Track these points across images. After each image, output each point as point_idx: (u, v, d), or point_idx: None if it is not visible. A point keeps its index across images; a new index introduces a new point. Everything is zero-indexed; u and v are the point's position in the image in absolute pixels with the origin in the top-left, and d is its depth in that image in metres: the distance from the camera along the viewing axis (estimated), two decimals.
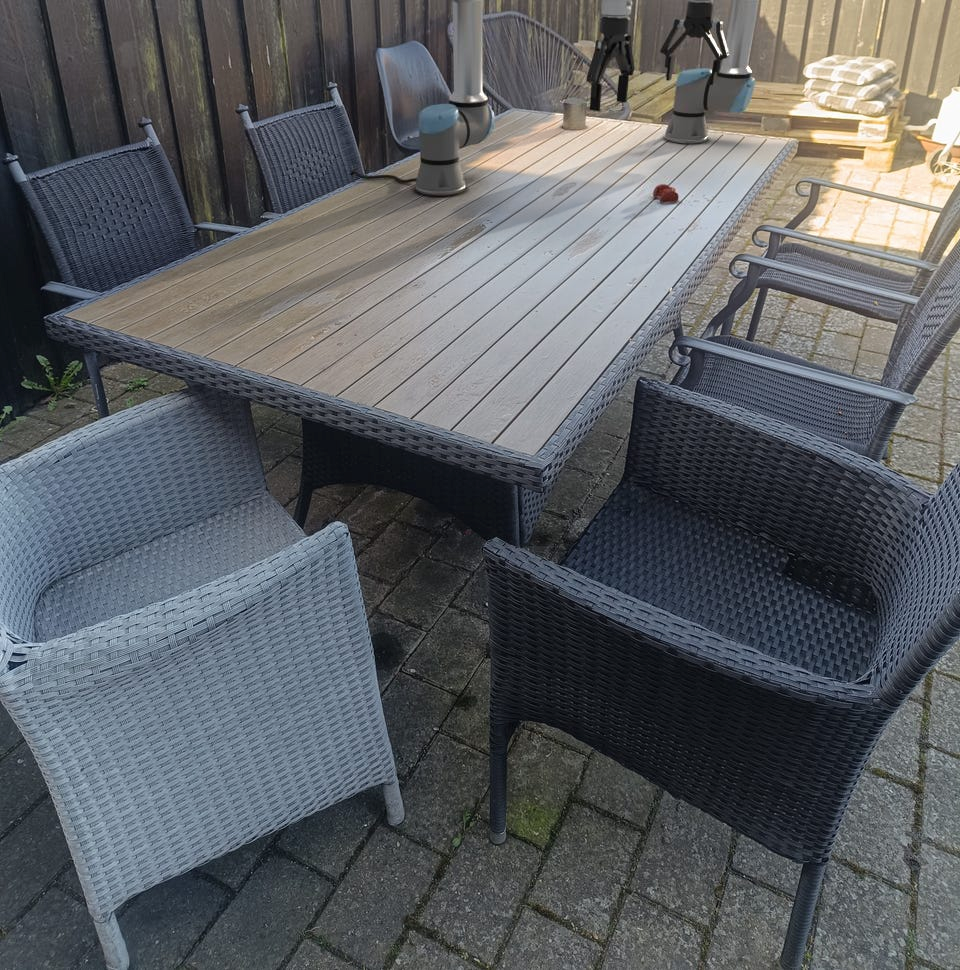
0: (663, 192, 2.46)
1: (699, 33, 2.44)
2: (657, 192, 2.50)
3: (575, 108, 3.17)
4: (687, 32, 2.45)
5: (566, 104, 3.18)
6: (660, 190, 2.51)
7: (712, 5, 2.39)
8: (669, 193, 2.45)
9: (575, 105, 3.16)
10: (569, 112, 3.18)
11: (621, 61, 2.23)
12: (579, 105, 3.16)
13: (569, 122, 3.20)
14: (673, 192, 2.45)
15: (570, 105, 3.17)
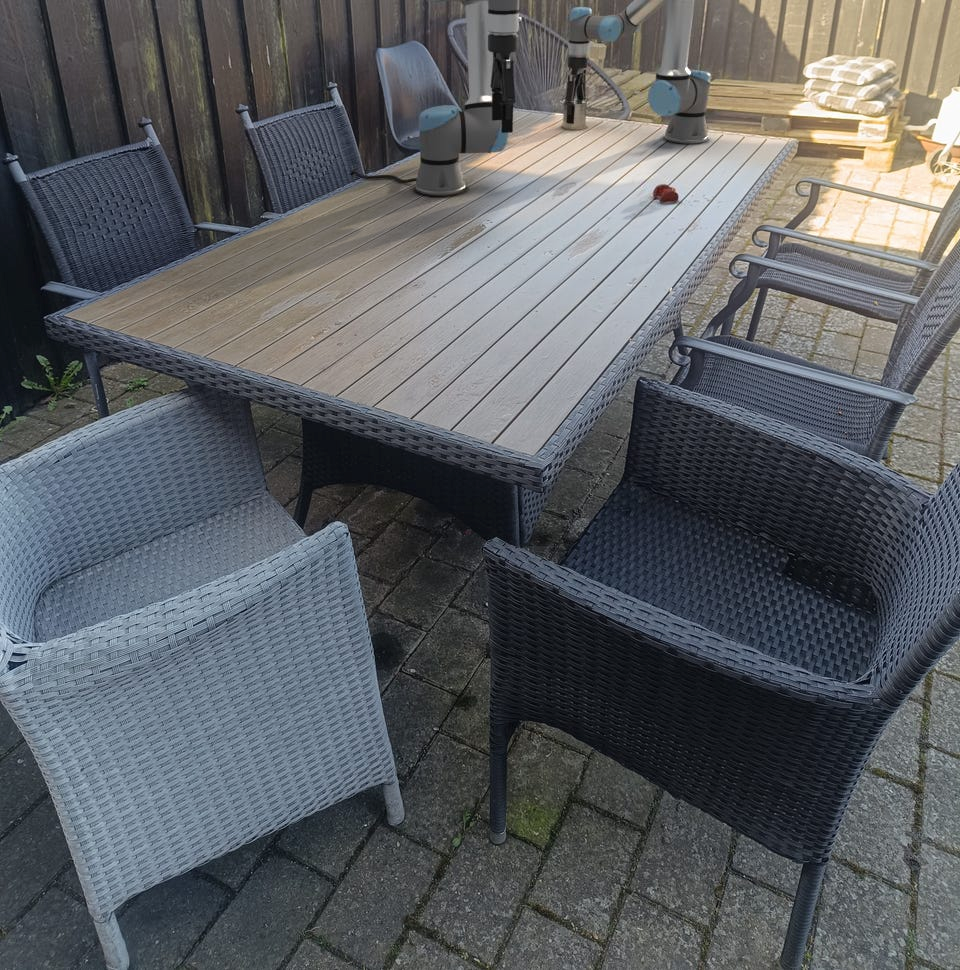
0: (663, 192, 2.46)
1: None
2: (657, 192, 2.50)
3: (575, 108, 3.17)
4: None
5: None
6: (660, 190, 2.51)
7: (572, 59, 3.08)
8: (669, 193, 2.45)
9: (575, 105, 3.16)
10: None
11: (500, 79, 2.14)
12: (579, 105, 3.16)
13: None
14: (673, 192, 2.45)
15: None
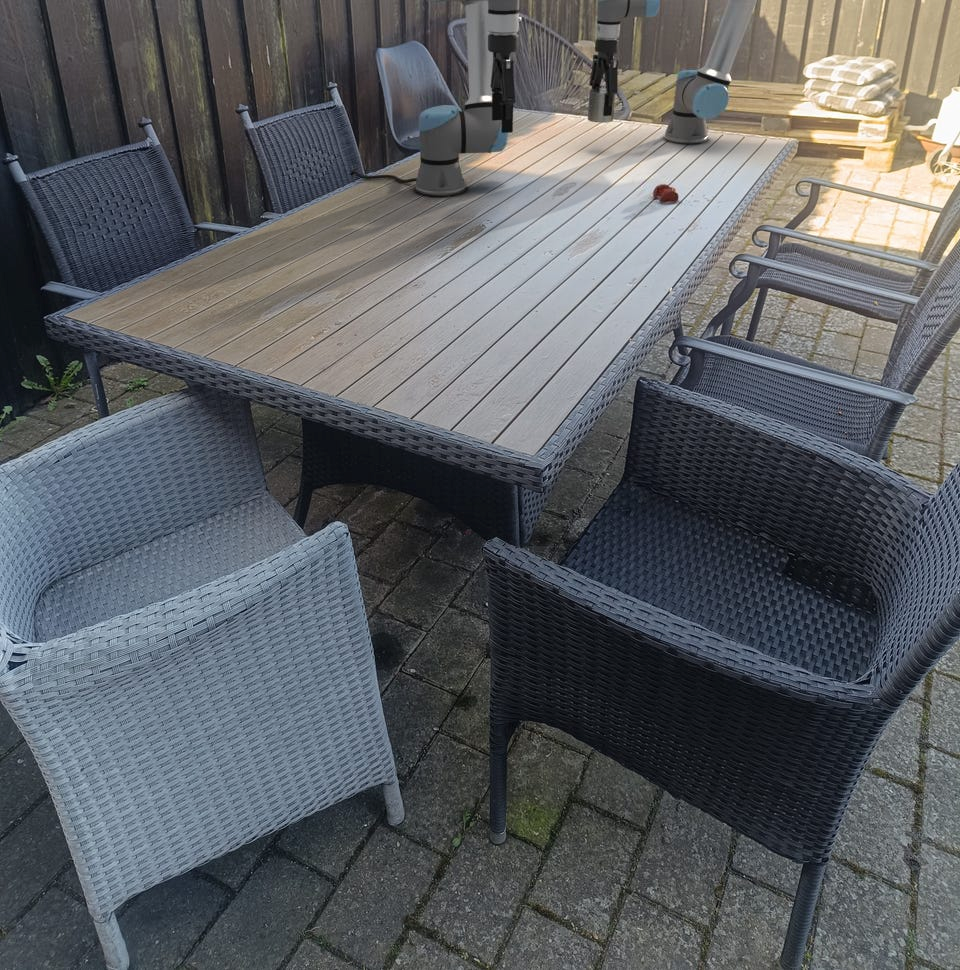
0: (663, 192, 2.46)
1: None
2: (657, 192, 2.50)
3: None
4: (597, 65, 2.80)
5: (601, 95, 2.80)
6: (660, 190, 2.51)
7: (609, 43, 2.71)
8: (669, 193, 2.45)
9: None
10: None
11: (500, 79, 2.14)
12: None
13: None
14: (673, 192, 2.45)
15: None
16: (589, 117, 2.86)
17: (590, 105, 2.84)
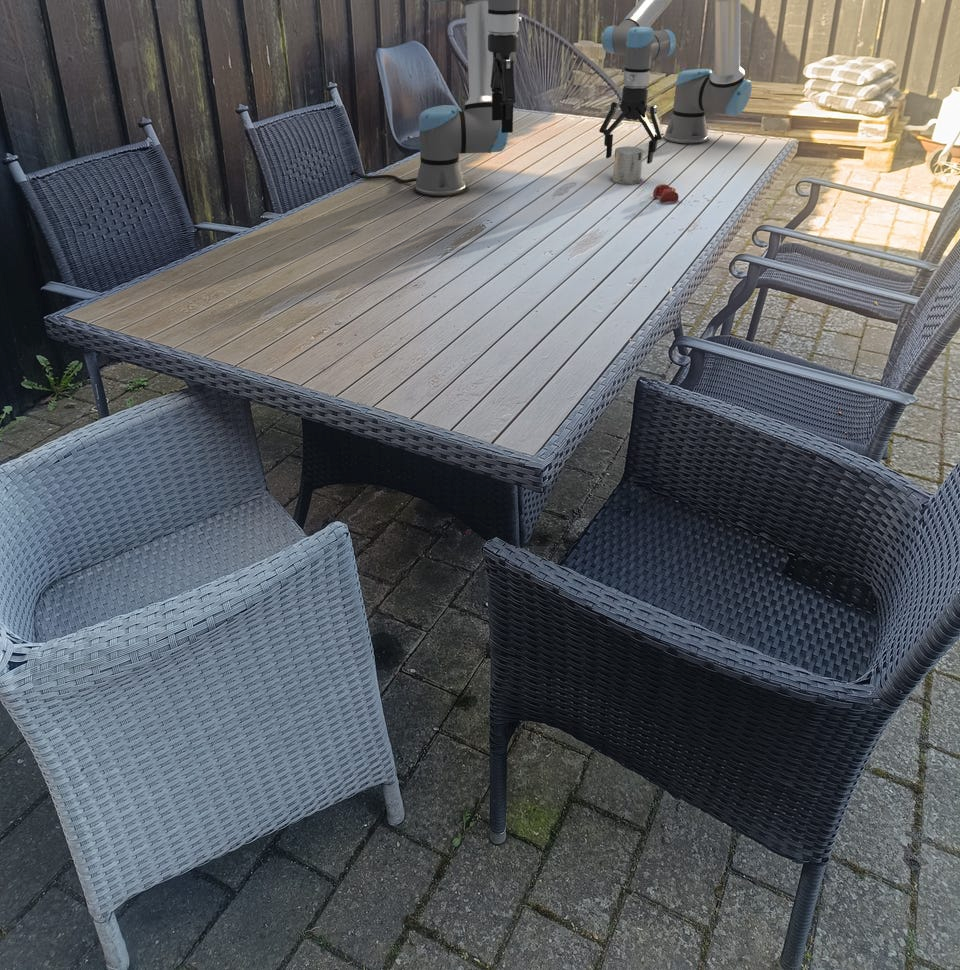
0: (663, 192, 2.46)
1: (635, 116, 2.54)
2: (657, 192, 2.50)
3: (642, 156, 2.62)
4: (623, 114, 2.55)
5: (637, 155, 2.59)
6: (660, 190, 2.51)
7: (645, 91, 2.49)
8: (669, 193, 2.45)
9: None
10: (640, 163, 2.61)
11: (500, 79, 2.14)
12: None
13: (639, 174, 2.63)
14: (673, 192, 2.45)
15: (641, 154, 2.60)
16: (622, 180, 2.63)
17: (623, 167, 2.61)
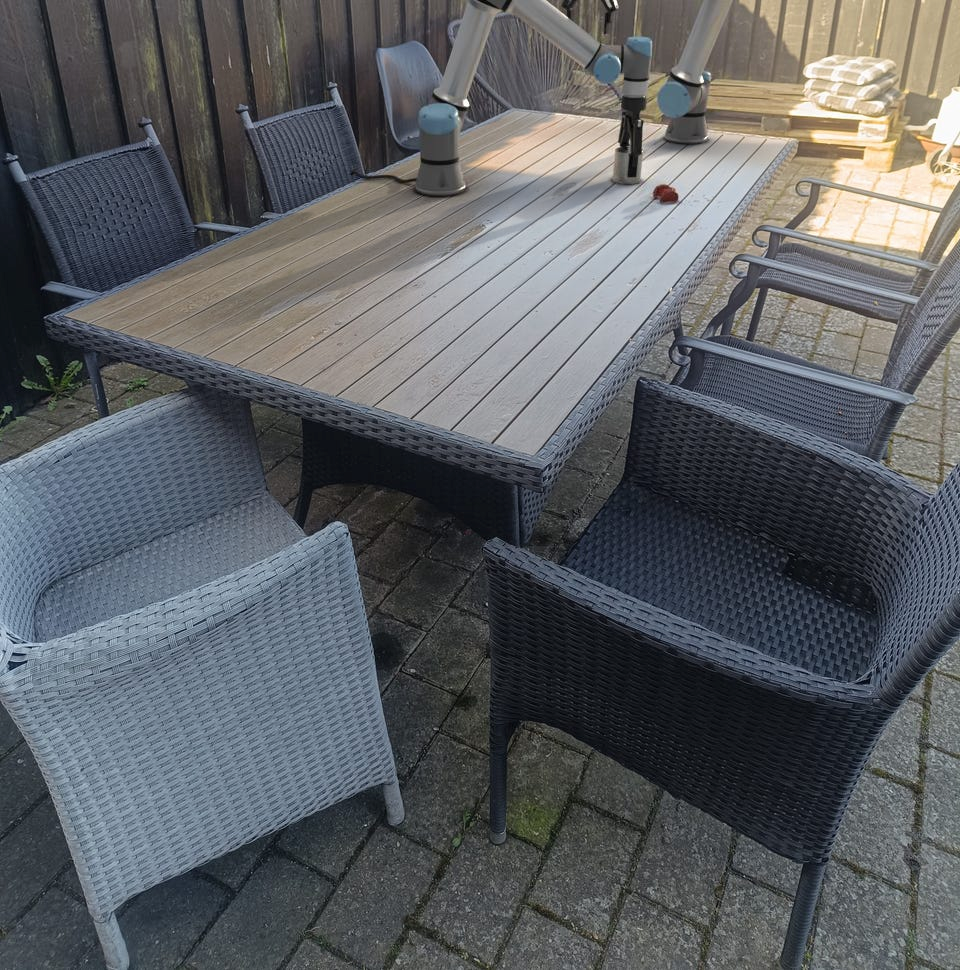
0: (663, 192, 2.46)
1: None
2: (657, 192, 2.50)
3: (642, 156, 2.62)
4: None
5: None
6: (660, 190, 2.51)
7: None
8: (669, 193, 2.45)
9: None
10: (640, 163, 2.61)
11: (628, 133, 2.62)
12: None
13: (639, 174, 2.63)
14: (673, 192, 2.45)
15: (641, 154, 2.60)
16: (622, 180, 2.63)
17: (623, 167, 2.61)
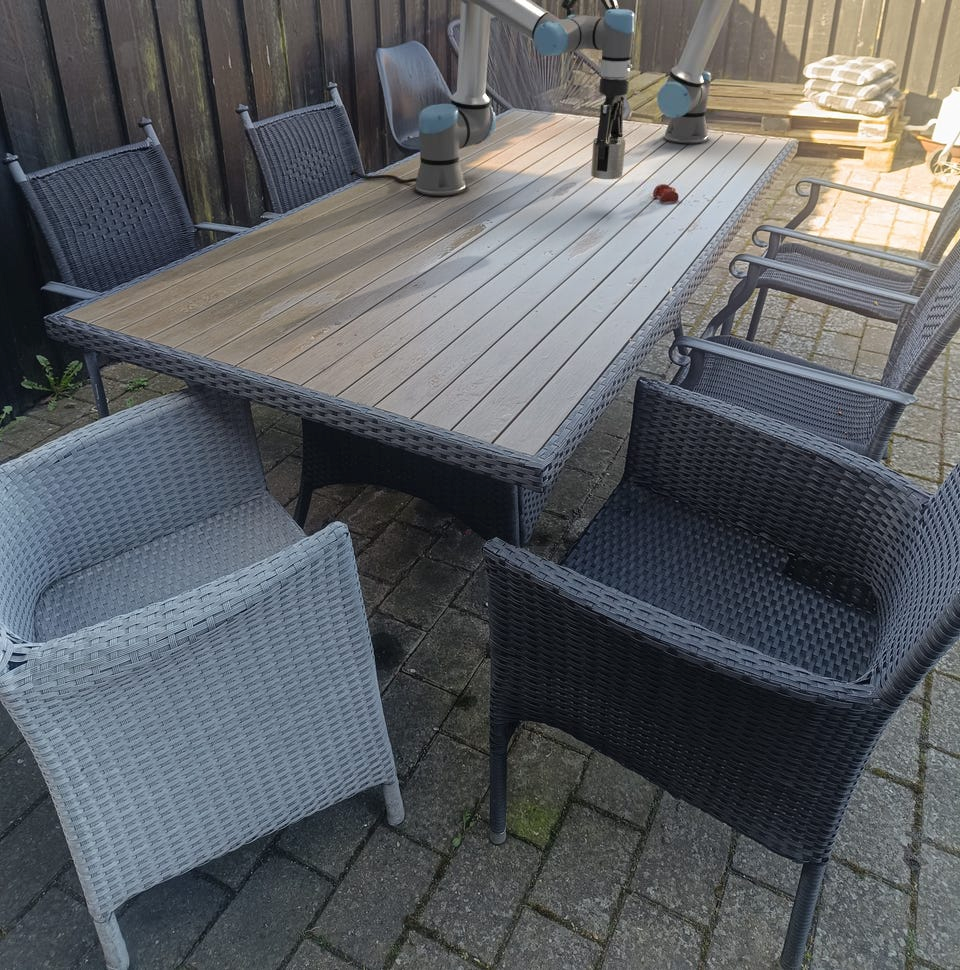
0: (663, 192, 2.46)
1: None
2: (657, 192, 2.50)
3: (622, 149, 2.28)
4: None
5: (610, 146, 2.26)
6: (660, 190, 2.51)
7: None
8: (669, 193, 2.45)
9: (622, 145, 2.27)
10: (614, 156, 2.28)
11: (615, 122, 2.29)
12: (624, 144, 2.28)
13: (614, 170, 2.30)
14: (673, 192, 2.45)
15: (617, 146, 2.26)
16: (594, 173, 2.32)
17: (595, 158, 2.30)
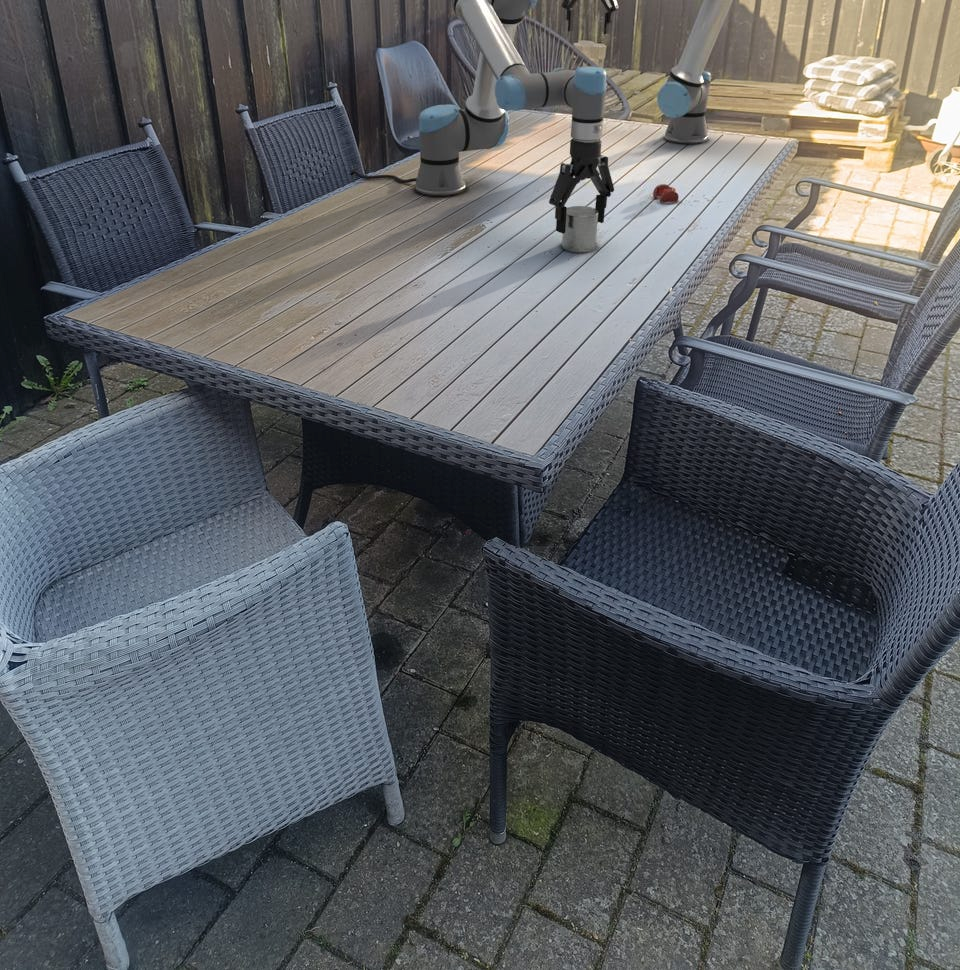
0: (663, 192, 2.46)
1: None
2: (657, 192, 2.50)
3: (587, 223, 2.11)
4: None
5: (573, 218, 2.10)
6: (660, 190, 2.51)
7: None
8: (669, 193, 2.45)
9: (588, 218, 2.10)
10: (578, 229, 2.11)
11: (596, 183, 2.11)
12: (593, 217, 2.11)
13: (578, 243, 2.13)
14: (673, 192, 2.45)
15: (580, 219, 2.10)
16: (562, 242, 2.18)
17: None
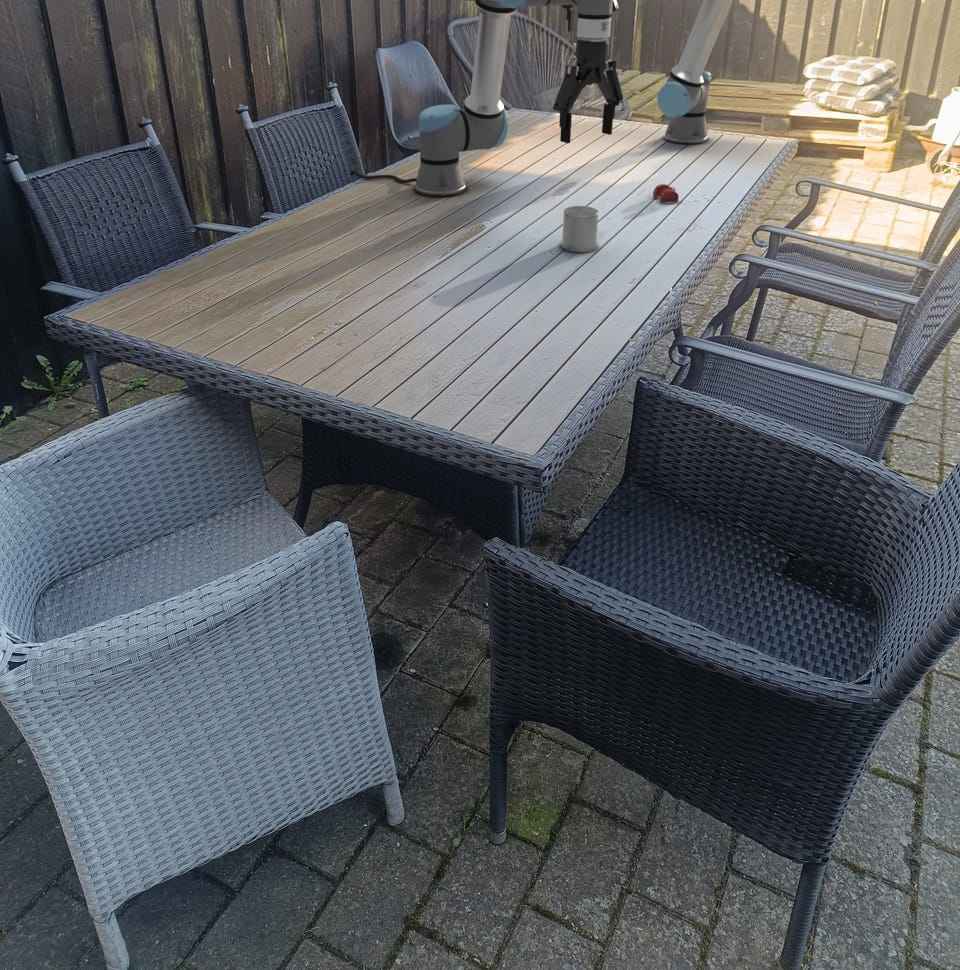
0: (663, 192, 2.46)
1: None
2: (657, 192, 2.50)
3: (587, 223, 2.11)
4: None
5: (573, 218, 2.10)
6: (660, 190, 2.51)
7: None
8: (669, 193, 2.45)
9: (588, 218, 2.10)
10: (578, 229, 2.11)
11: (603, 89, 1.99)
12: (593, 217, 2.11)
13: (578, 243, 2.13)
14: (673, 192, 2.45)
15: (580, 219, 2.10)
16: (562, 242, 2.18)
17: (563, 228, 2.15)
